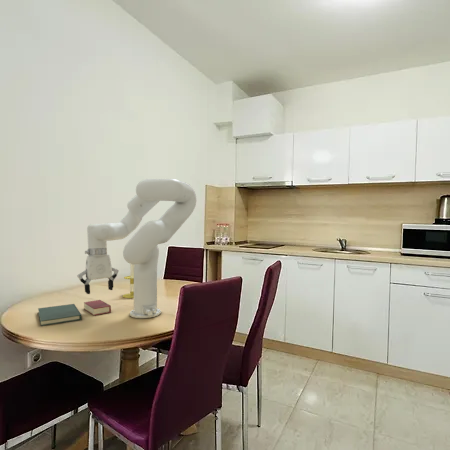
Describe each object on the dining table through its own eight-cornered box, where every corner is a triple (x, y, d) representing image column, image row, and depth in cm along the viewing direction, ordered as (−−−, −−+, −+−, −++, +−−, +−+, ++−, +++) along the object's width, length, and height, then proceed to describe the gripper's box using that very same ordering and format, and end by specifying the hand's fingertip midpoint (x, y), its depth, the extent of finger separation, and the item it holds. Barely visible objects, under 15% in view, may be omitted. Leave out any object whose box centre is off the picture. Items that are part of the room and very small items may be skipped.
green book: (81, 319, 128) (81, 314, 128) (40, 326, 120) (40, 320, 120) (74, 308, 145) (74, 303, 145) (38, 313, 137) (38, 308, 137)
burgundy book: (110, 312, 138) (110, 305, 138) (94, 315, 133) (94, 308, 133) (99, 306, 148) (99, 299, 148) (84, 309, 143) (84, 302, 143)
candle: (118, 296, 167) (118, 244, 166) (133, 292, 175) (133, 243, 174) (131, 299, 161) (131, 245, 161) (146, 295, 169) (146, 244, 169)
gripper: (79, 254, 132) (81, 296, 132) (120, 250, 143) (122, 289, 143) (74, 253, 137) (75, 294, 137) (113, 250, 149) (115, 287, 149)
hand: (99, 291), depth 140 cm, fingers open, 9 cm apart
